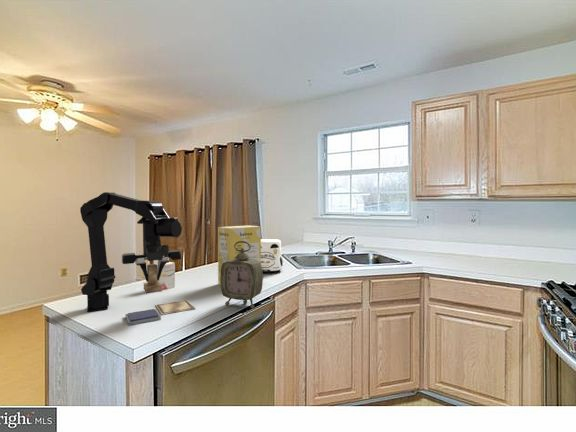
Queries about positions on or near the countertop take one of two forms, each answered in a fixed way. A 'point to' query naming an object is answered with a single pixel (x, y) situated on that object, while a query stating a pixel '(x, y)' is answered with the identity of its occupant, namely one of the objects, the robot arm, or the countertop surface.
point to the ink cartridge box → (167, 275)
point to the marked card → (175, 307)
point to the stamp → (152, 280)
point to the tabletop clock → (241, 277)
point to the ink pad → (142, 316)
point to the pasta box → (233, 235)
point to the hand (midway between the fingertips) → (152, 281)
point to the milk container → (271, 255)
